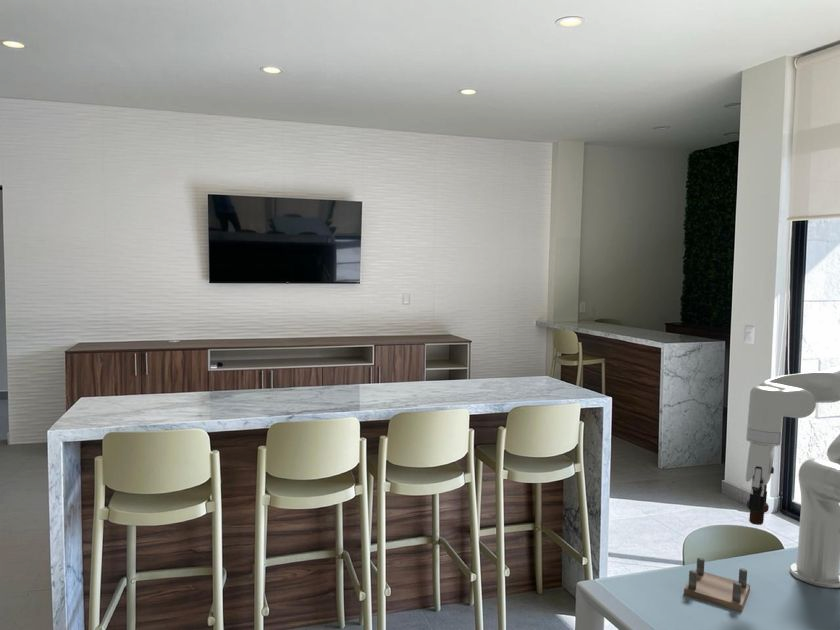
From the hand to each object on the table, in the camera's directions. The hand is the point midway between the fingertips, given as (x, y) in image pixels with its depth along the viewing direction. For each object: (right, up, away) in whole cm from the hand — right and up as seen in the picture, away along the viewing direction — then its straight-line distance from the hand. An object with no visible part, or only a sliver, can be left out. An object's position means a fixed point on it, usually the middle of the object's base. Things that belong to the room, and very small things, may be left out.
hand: (757, 507), depth 159 cm
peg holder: (-10, -21, 0) cm, 24 cm away
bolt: (0, -4, 0) cm, 4 cm away
